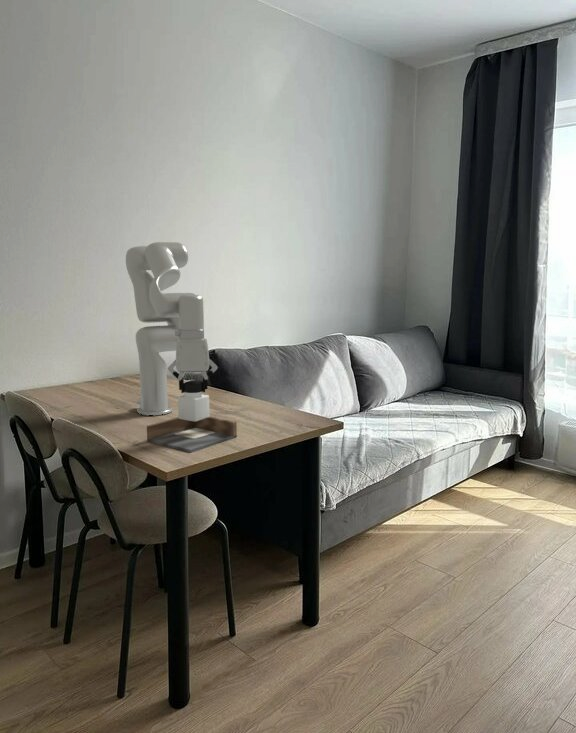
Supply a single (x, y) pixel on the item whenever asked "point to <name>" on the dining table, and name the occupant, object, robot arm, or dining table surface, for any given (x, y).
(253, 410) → the dining table surface
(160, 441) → the tray
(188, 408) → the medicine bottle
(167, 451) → the dining table surface
